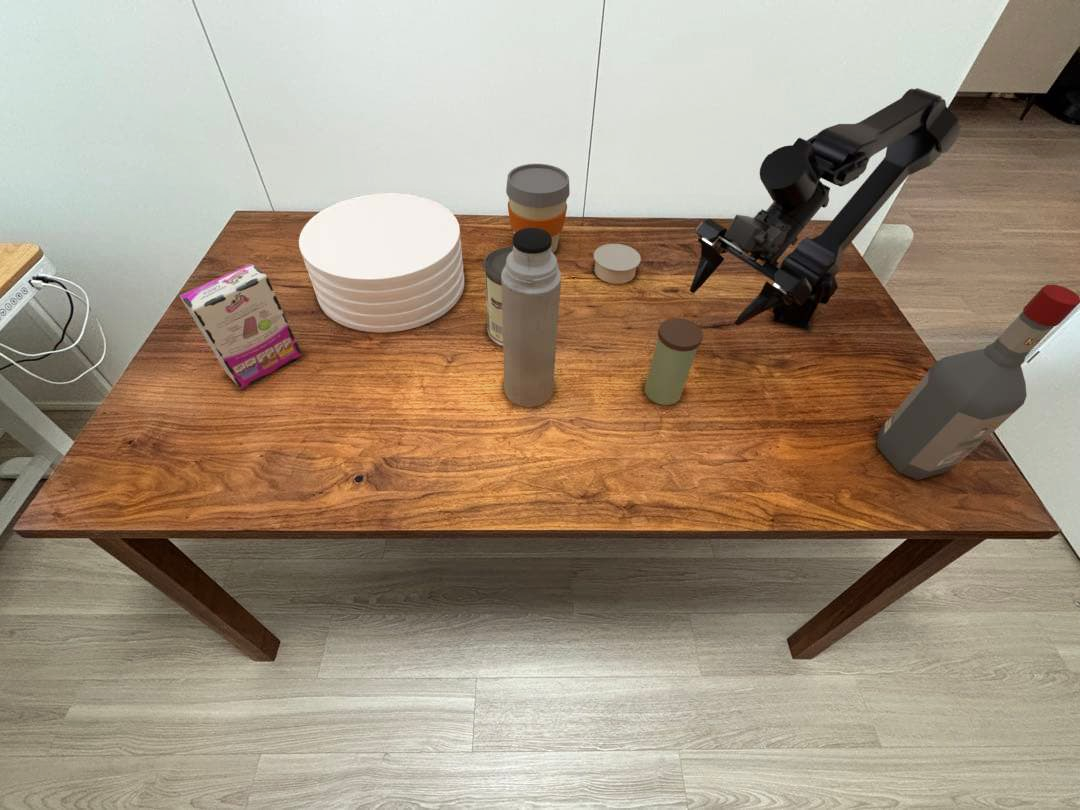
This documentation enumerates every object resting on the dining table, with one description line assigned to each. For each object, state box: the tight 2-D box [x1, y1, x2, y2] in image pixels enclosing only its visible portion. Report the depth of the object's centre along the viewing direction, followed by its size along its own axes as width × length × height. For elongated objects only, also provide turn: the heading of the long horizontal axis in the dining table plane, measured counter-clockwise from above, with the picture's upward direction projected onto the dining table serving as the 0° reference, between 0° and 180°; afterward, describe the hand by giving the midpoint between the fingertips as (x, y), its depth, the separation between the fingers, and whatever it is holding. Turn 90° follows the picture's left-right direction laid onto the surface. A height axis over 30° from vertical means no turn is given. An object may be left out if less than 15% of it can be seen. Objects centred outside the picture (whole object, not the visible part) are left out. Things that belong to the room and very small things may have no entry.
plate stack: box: [298, 192, 465, 333], centre depth 100 cm, size 28×28×12 cm
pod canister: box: [644, 317, 704, 406], centre depth 83 cm, size 6×6×13 cm
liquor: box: [876, 284, 1080, 481], centre depth 70 cm, size 9×9×30 cm
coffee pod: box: [593, 243, 641, 285], centre depth 109 cm, size 9×9×4 cm
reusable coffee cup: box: [505, 163, 571, 254], centre depth 109 cm, size 12×13×15 cm
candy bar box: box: [179, 263, 303, 390], centre depth 83 cm, size 11×5×16 cm, turn 137°
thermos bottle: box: [501, 228, 562, 408], centre depth 77 cm, size 8×8×28 cm
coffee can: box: [483, 245, 513, 347], centre depth 92 cm, size 10×10×14 cm
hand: (713, 307), depth 82 cm, fingers open, 9 cm apart
